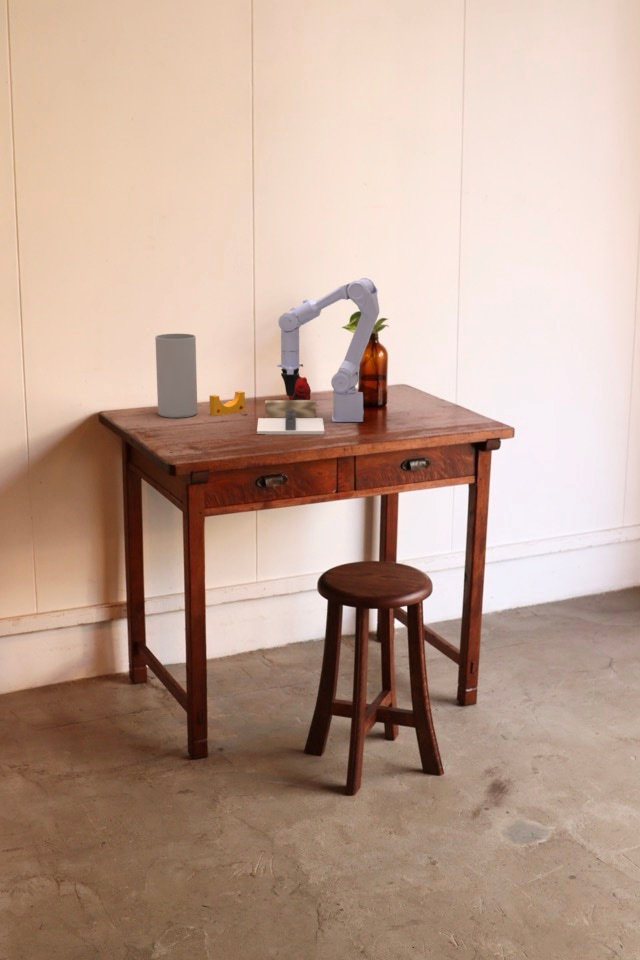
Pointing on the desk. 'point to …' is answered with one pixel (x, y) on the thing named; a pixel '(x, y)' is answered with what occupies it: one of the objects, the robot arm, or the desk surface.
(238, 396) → the pipe clamp
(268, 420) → the stand
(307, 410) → the oak bar
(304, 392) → the red clay folk toy
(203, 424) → the desk surface
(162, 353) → the cylinder vase
